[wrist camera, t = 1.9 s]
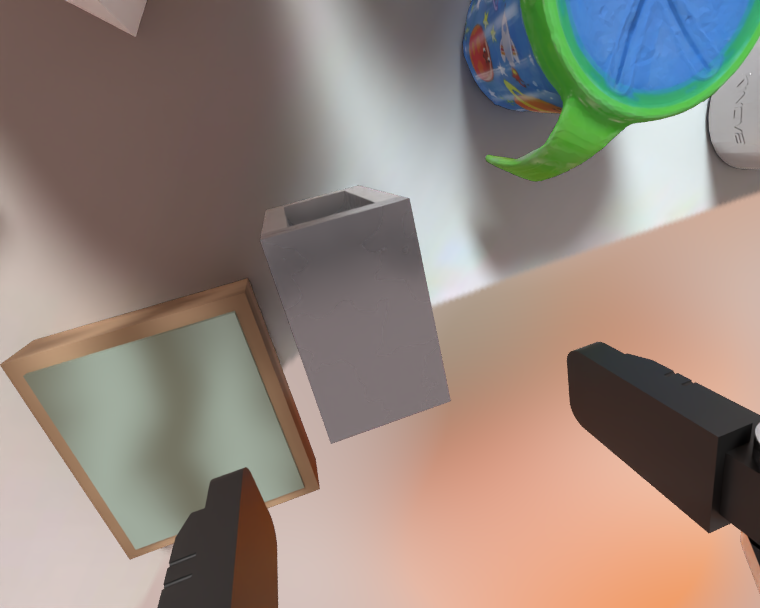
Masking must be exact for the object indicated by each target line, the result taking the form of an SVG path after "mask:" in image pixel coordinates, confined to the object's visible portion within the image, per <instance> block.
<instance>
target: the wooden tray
mask: <svg viewBox="0 0 760 608" xmlns="http://www.w3.org/2000/svg"><path fill="white" fill-rule="evenodd" d="M0 365H1V367H2V368H3V370H4V371H5V373H6V374H7V376H8V377H9V379H10V380H11V382H12V383H13V385H14V386H15V388H16V389H17V391H18V392H19V394H20V395H21V397H22V398H23V400H24V401H25V403H26V405H27V406H28V408H29V409H30V411H31V412H32V414H33V415H34V417H35V418H36V420H37V421H38V423H39V424H40V426H41V427H42V429H43V430H44V432H45V433H46V435H47V436H48V438H49V439H50V441H51V442H52V444H53V445H54V447H55V448H56V450H57V451H58V453H59V454H60V456H61V457H62V459H63V460H64V462H65V463H66V465H67V466H68V468H69V469H70V471H71V472H72V474H73V475H74V477H75V478H76V480H77V481H78V483H79V484H80V486H81V487H82V489H83V490H84V492H85V493H86V495H87V496H88V498H89V499H90V501H91V502H92V504H93V505H94V507H95V508H96V510H97V511H98V513H99V514H100V516H101V517H102V519H103V520H104V522H105V523H106V525H107V526H108V528H109V529H110V531H111V532H112V534H113V535H114V537H115V538H116V540H117V541H118V543H119V544H120V546H121V547H122V549H123V550H124V552H125V553H126V555H127V556H128V558H129V559H133V558H135V557H138V556H141V555H143V554H146V553H149V552H151V551H154V550H157V549H159V548H162V547H165V546H168V545H170V544H173V543H174V541H175V537H176V536H177V534H178V533H179V531H180V530H181V528H182V526H183V525H184V523H185V522H186V520H187V518H188V517H189V515H190V514H191V513H192V512H195V511H198V510H200V509H203V508H205V505H206V499H207V494H208V489H209V484H210V481H211V480H212V479H214V478H217V477H220V476H222V475H225V474H228V473H231V472H233V471H236V470H239V469H242V468H245V467H247V468H248V469H249V470H250V472H251V474H252V476H253V478H254V480H255V482H256V485H257V487H258V489H259V491H260V494H261V496H262V498H263V500H264V502H265V505H266V507H267V508H270V507H272V506H275V505H278V504H281V503H283V502H286V501H288V500H291V499H294V498H297V497H299V496H302V495H305V494H307V493H310V492H313V491H316V490H318V489H320V488H319V480H318V473H317V466H316V459H315V456H314V453H313V451H312V448H311V445H310V442H309V440H308V437H307V434H306V432H305V429H304V426H303V424H302V421H301V418H300V416H299V413H298V410H297V408H296V405H295V402H294V400H293V397H292V394H291V392H290V389H289V386H288V383H287V381H286V378H285V375H284V373H283V370H282V367H281V365H280V362H279V359H278V357H277V354H276V351H275V349H274V346H273V343H272V341H271V338H270V335H269V333H268V330H267V327H266V325H265V322H264V319H263V317H262V314H261V311H260V308H259V306H258V303H257V300H256V298H255V295H254V292H253V290H252V287H251V284H250V282H249V279H248V278H247V279H243V280H240V281H236V282H233V283H229V284H226V285H223V286H219V287H216V288H212V289H209V290H205V291H202V292H198V293H195V294H192V295H188V296H185V297H181V298H178V299H174V300H171V301H167V302H164V303H160V304H157V305H154V306H150V307H147V308H143V309H140V310H136V311H133V312H129V313H126V314H123V315H119V316H116V317H112V318H109V319H105V320H102V321H98V322H95V323H92V324H88V325H85V326H81V327H78V328H74V329H71V330H67V331H64V332H61V333H57V334H54V335H50V336H47V337H43V338H40V339H36V340H33V341H32V342H30V343H29V344H28V345H26V346H25V347H24V348H22V349H21V350H20V351H18V352H17V353H15V354H14V355H13V356H11V357H10V358H9V359H7V360H6V361H4V362H3V363H2V364H0Z"/></svg>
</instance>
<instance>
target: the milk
mask: <svg viewBox="0 0 760 608" xmlns="http://www.w3.org/2000/svg"><path fill="white" fill-rule="evenodd" d="M65 1H67V2H69V3H71V4H73V5H75V6H77V7H79V8H81V9H83V10H85V11H86V12H88V13H90V14H92V15H94V16H96V17H98V18H100V19H102V20H104V21H106V22H108V23H110V24H111V25H113V26H115V27H117V28H119V29H121V30H123V31H125V32H127V33H129V34H131V35H133V36H135V37H136V35H137V31H138V28H139V25H140V21H141V18H142V15H143V11H144V8H145V5H146V1H147V0H65Z"/></svg>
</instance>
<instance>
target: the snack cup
mask: <svg viewBox="0 0 760 608" xmlns="http://www.w3.org/2000/svg"><path fill="white" fill-rule="evenodd" d="M759 37H760V0H472V1H471V4H470V7H469V10H468V14H467V19H466V24H465V36H464V40H463V48H464V57H465V59H466V62H467V64H468V66H469V69H470V71H471V74H472V76H473V78H474V80H475V82H476V83H477V85H478V86H479V88H480V89H481V90H482V92H483V93H484V94H485V95H486V96H487V97H488V98H489V99H490V100H491V101H493V103H494V104H495V105H499V106H502V107H504V108H506V109H512V110H517V111H520V112H523V111H533V112H540V113H560V116H559V119H558V122H557V123H556V125H555V127H554V129H553V131H552V132H551V134H550V136H549V137H548V139H547V141H546V143H545V144H544V145H543V146H541V147H540V148H538V149H536V150H533V151H531V152H530V153H528V154H526V155H524V156H522V157H520V158H518V159H513V158H507V157H500V156H492V155H487V156H486V158H485V159H486V161H487V162H488V163H490V164H492V165H494V166H496V167H498V168H500V169H503V170H505V171H507V172H509V173H512V174H514V175H516V176H519V177H521V178H524V179H527V180H530V181H535V182H537V181H543V180H546V179H549V178H552V177H555V176H557V175H560V174H562V173H564V172H567V171H569V170H570V169H572V168H575V167H576V166H578V165H580V164H582V163H583V162H585V161H586V160H588V159H589V158H591V157H592V156H593V155H594V154H596V153H597V152H598V151H600V150H601V149H603V148H604V147H605V146H606V145H607V144H608V143H609V142H610V141H611V140H612V139H613V138H614V137H615V136H617V135H618V134H619V133H620V132H621V131H622V130H624V129H625V127H627V126H629V125H631V124H633V123H641V122H648V121H654V120H660V119H663V118H667V117H671V116H675V115H677V114H680V113H683V112H685V111H687V110H689V109H691V108H693V107H695V106H696V105H698V104H699V103H700V102H703V101H705V100H706V99H708V98H709V97H711V96H712V95H713V94H715V93H716V92H717V90H718V89H719V88H720V87H721V86H722V85H724V84H725V82H726V81H727V80H728V79H729V78H730V77H731V76H732V75H733V74H734V73H735V72H736V71H737V70H738V69H739V67H740V66H741V64H742V63H743V62H744V60H745V59H746V58H747V56H748V55H749V53H750V52H751V50H752V49H753V47H754V46H755V44H756V42H757V41H758V39H759Z"/></svg>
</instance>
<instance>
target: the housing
mask: <svg viewBox="0 0 760 608" xmlns="http://www.w3.org/2000/svg"><path fill="white" fill-rule="evenodd" d="M260 242H261V245H262V247H263V250H264V253H265V256H266V259H267V262H268V265H269V268H270V270H271V273H272V276H273V279H274V282H275V285H276V288H277V290H278V293H279V296H280V299H281V302H282V305H283V308H284V310H285V313H286V316H287V319H288V322H289V325H290V328H291V330H292V333H293V336H294V339H295V342H296V345H297V348H298V350H299V353H300V356H301V359H302V362H303V365H304V368H305V370H306V373H307V376H308V379H309V382H310V385H311V387H312V391H313V393H314V396H315V399H316V402H317V405H318V407H319V410H320V413H321V416H322V419H323V422H324V425H325V428H326V431H327V433H328V436H329V439H330V442H331V444H332V443H335V442H338V441H341V440H343V439H346V438H349V437H352V436H354V435H357V434H360V433H363V432H366V431H369V430H371V429H374V428H377V427H380V426H383V425H385V424H388V423H391V422H393V421H396V420H399V419H402V418H405V417H407V416H410V415H413V414H416V413H419V412H422V411H424V410H427V409H430V408H433V407H435V406H438V405H441V404H444V403H447V402H450V401H451V400H450V395H449V390H448V385H447V380H446V375H445V371H444V366H443V361H442V356H441V351H440V346H439V341H438V337H437V331H436V326H435V322H434V317H433V312H432V307H431V302H430V297H429V292H428V287H427V282H426V277H425V272H424V268H423V263H422V258H421V253H420V248H419V243H418V238H417V233H416V228H415V223H414V218H413V214H412V209H411V204H410V199H409V198H406V197H402V196H398V195H394V194H390V193H386V192H382V191H378V190H375V189H371V188H367V187H363V186H359V185H357V186H353V187H349V188H345V189H342V190H338V191H334V192H331V193H327V194H323V195H319V196H316V197H312V198H308V199H305V200H301V201H297V202H293V203H290V204H286V205H282V206H278V207H275V208H271V209H267V210H266V212H265V217H264V222H263V227H262V232H261V237H260Z"/></svg>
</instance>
